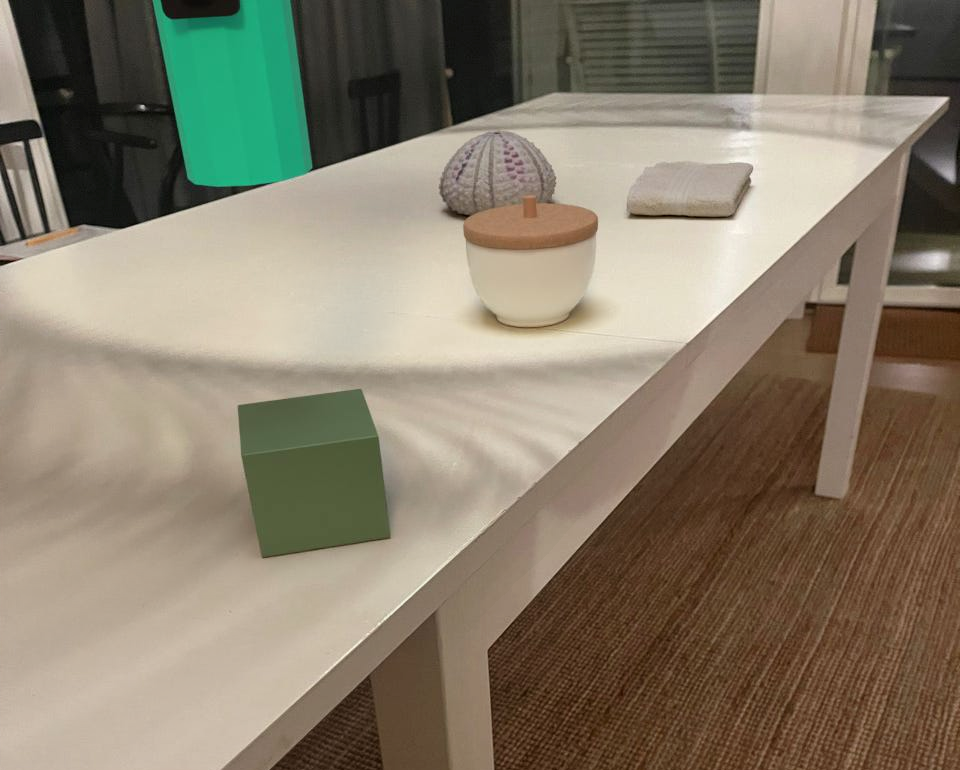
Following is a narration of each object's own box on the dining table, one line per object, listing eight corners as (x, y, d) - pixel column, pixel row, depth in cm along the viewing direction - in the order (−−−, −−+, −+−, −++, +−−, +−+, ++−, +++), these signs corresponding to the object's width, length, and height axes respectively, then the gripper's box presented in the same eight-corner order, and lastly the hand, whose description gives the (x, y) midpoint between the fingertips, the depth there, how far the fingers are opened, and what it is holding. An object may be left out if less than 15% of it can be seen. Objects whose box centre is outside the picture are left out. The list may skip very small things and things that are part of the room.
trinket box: (443, 326, 86) (434, 206, 80) (512, 290, 93) (508, 178, 88) (555, 344, 81) (554, 217, 75) (619, 305, 88) (622, 187, 82)
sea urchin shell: (560, 218, 114) (560, 138, 110) (438, 225, 114) (432, 146, 110) (553, 192, 125) (552, 119, 120) (441, 199, 125) (436, 126, 121)
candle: (166, 176, 51) (102, -128, 44) (272, 156, 54) (228, -131, 47) (225, 192, 47) (166, -140, 40) (336, 170, 50) (298, -142, 43)
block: (261, 558, 55) (240, 455, 52) (256, 500, 61) (237, 404, 58) (390, 538, 56) (378, 435, 53) (373, 483, 62) (361, 387, 59)
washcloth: (753, 184, 123) (755, 155, 121) (736, 221, 109) (739, 189, 107) (653, 183, 126) (654, 156, 124) (624, 219, 112) (625, 188, 110)
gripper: (100, -500, 43) (191, 3, 54) (-107, -701, 29) (71, 33, 40) (276, -517, 43) (334, -6, 53) (153, -729, 29) (264, 22, 39)
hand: (221, 6), depth 46 cm, fingers closed on candle, 5 cm apart
